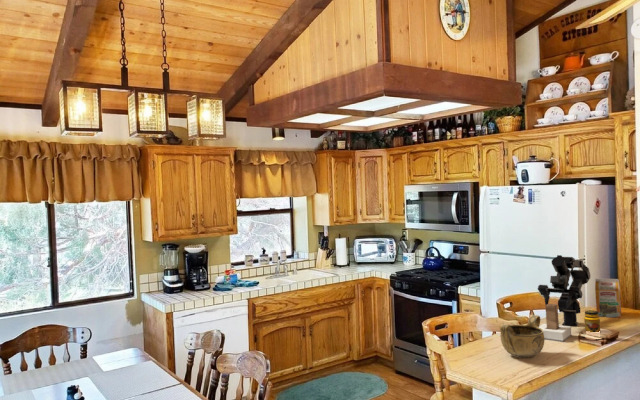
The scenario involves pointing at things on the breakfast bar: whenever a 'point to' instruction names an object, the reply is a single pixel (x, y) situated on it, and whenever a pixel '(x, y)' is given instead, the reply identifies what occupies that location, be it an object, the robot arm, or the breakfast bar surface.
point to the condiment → (592, 321)
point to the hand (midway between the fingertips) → (556, 306)
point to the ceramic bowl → (523, 338)
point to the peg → (552, 316)
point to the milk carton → (608, 298)
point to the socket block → (556, 333)
